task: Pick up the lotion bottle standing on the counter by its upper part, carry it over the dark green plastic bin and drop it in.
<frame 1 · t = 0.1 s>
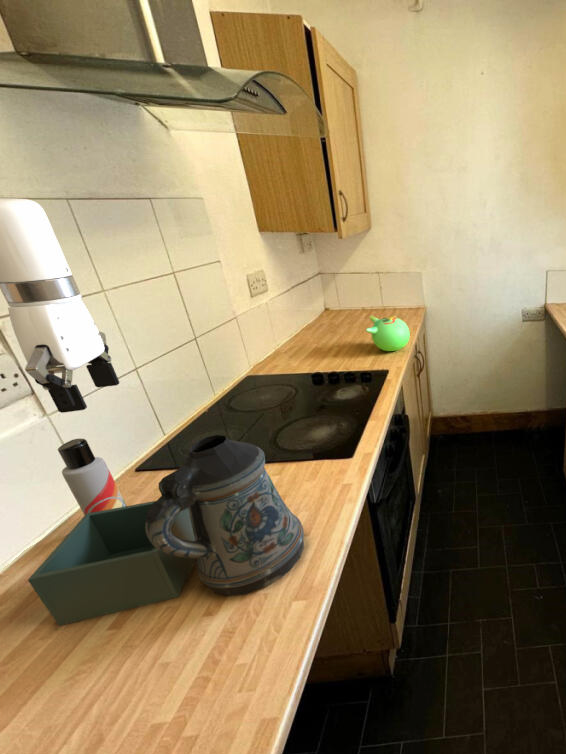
hand: (92, 397, 67), 30 cm above the table, tool pointing down, fingers open, 9 cm apart
lotion bottle: (115, 529, 82), on the table
bin: (141, 575, 72), on the table
green space hopper: (391, 349, 180), on the table
beer stein: (253, 566, 74), on the table
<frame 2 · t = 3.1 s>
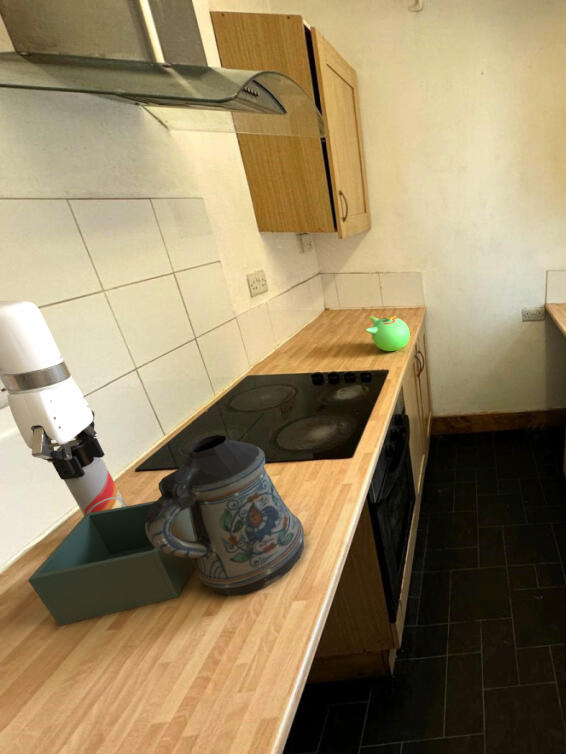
hand: (83, 466, 76), 15 cm above the table, tool pointing down, fingers closed on lotion bottle, 5 cm apart
lotion bottle: (115, 529, 82), on the table, touching gripper
everything else where it was.
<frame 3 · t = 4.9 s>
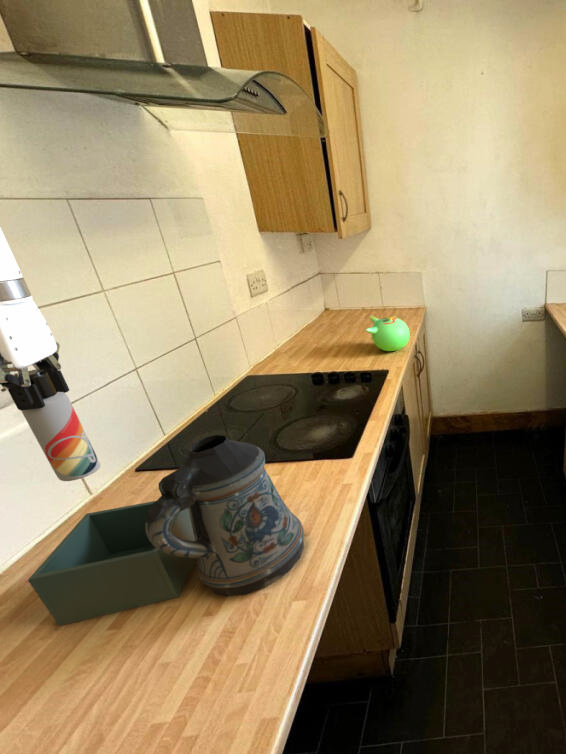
hand: (45, 399, 70), 29 cm above the table, tool pointing down, fingers closed on lotion bottle, 5 cm apart
lotion bottle: (80, 473, 76), point 14 cm above the table, touching gripper
everything else where it was.
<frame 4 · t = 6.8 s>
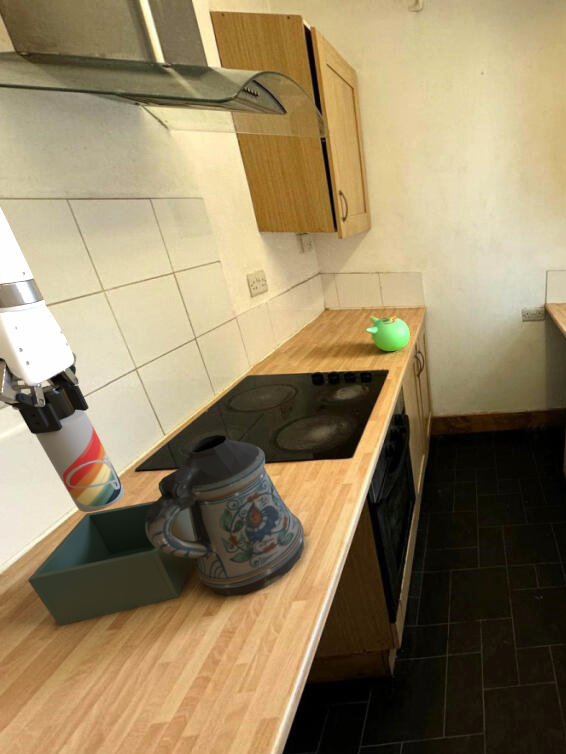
hand: (61, 419, 60), 30 cm above the table, tool pointing down, fingers closed on lotion bottle, 5 cm apart
lotion bottle: (103, 501, 67), point 15 cm above the table, touching gripper
everything else where it was.
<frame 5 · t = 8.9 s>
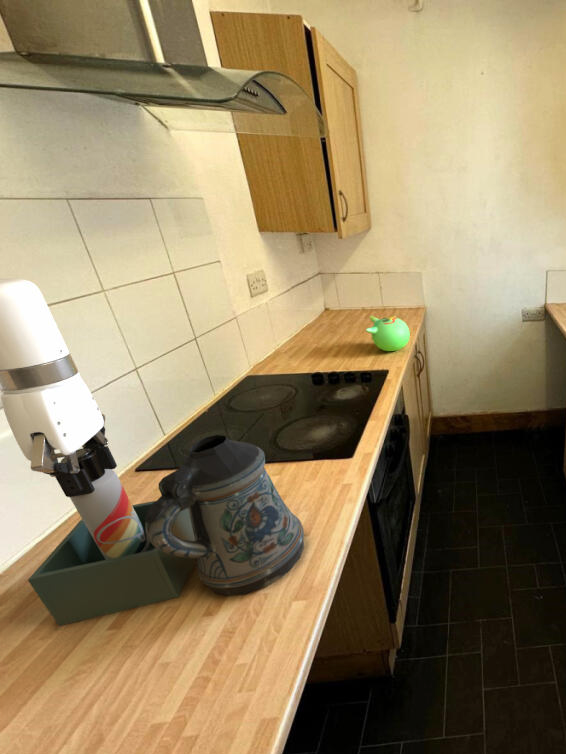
hand: (93, 480, 64), 20 cm above the table, tool pointing down, fingers closed on lotion bottle, 5 cm apart
lotion bottle: (129, 552, 70), point 5 cm above the table, touching gripper
everything else where it was.
when the fingers open (16 cm above the table, at t = 10.6 s): lotion bottle stays where it is, resting on bin.
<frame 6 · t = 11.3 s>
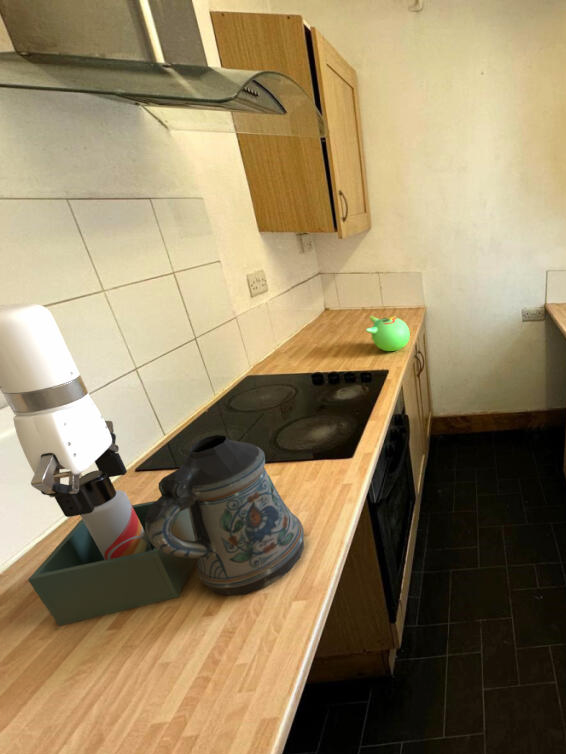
hand: (99, 493, 65), 18 cm above the table, tool pointing down, fingers open, 9 cm apart
lotion bottle: (138, 571, 72), point 1 cm above the table, touching bin
everything else where it was.
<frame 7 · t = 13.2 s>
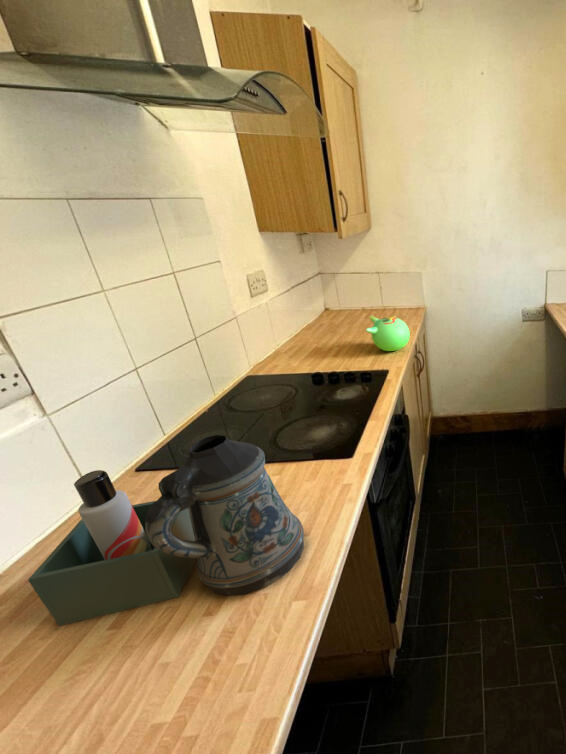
nothing on the table moved.
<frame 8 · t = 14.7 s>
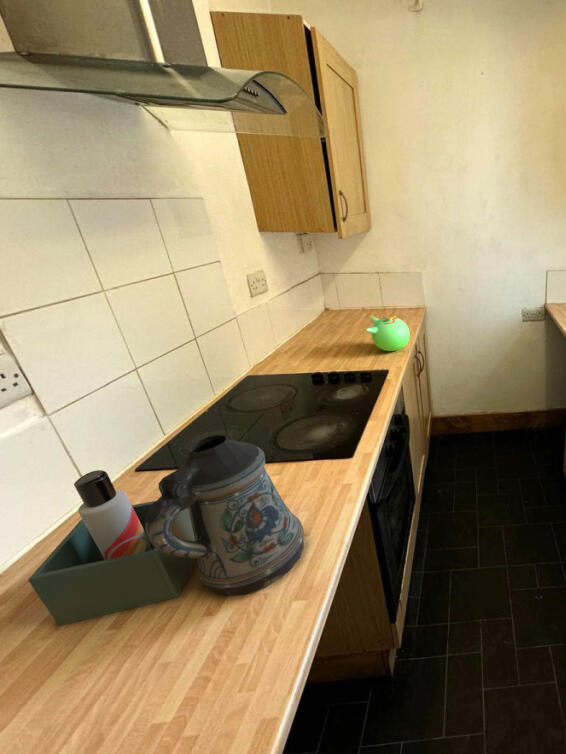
nothing on the table moved.
at the end: lotion bottle inside the target area in the bin (0.5 cm from its centre), point 0.6 cm above the bin's base; the gripper is holding nothing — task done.
